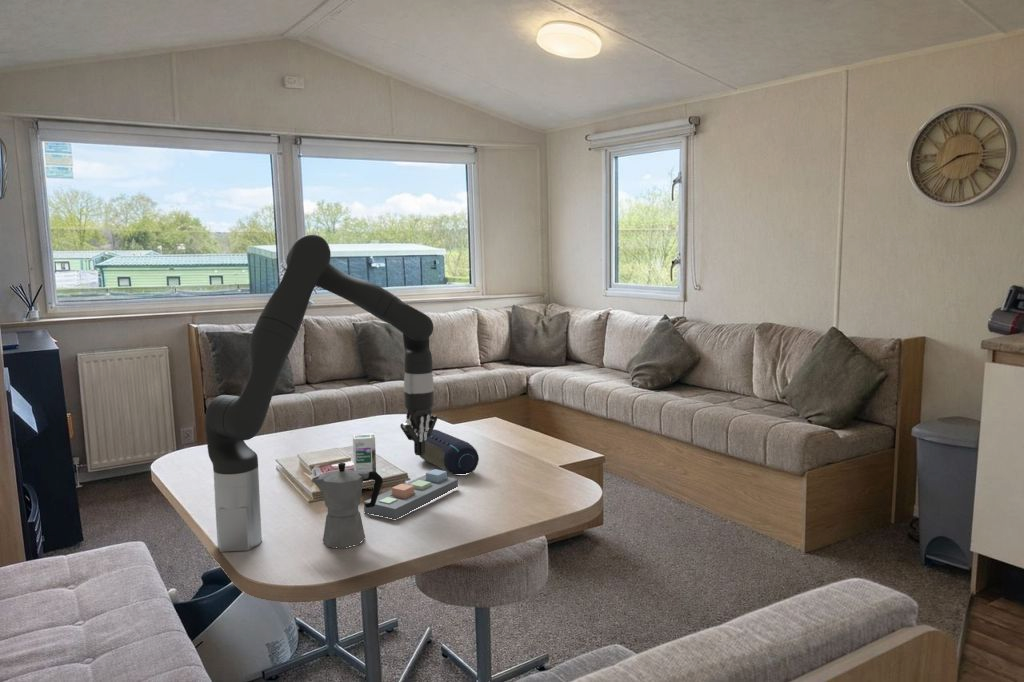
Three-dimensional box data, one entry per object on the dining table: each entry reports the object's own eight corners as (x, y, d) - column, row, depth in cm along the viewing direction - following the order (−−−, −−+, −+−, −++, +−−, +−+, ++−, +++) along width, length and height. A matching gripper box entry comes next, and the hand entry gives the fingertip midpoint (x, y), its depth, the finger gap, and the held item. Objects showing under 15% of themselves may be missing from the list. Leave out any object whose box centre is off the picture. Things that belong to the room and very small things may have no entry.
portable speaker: (411, 460, 222) (411, 429, 221) (439, 455, 228) (439, 424, 226) (452, 481, 202) (452, 447, 200) (482, 475, 207) (482, 441, 206)
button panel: (395, 520, 172) (395, 507, 172) (364, 513, 177) (363, 500, 177) (458, 490, 194) (457, 478, 194) (428, 484, 199) (428, 472, 199)
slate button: (438, 488, 191) (437, 475, 191) (426, 485, 194) (425, 473, 193) (446, 483, 195) (446, 471, 194) (435, 481, 197) (434, 469, 196)
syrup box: (355, 491, 194) (353, 438, 192) (354, 484, 199) (352, 433, 198) (376, 489, 195) (375, 437, 193) (375, 482, 201) (373, 432, 199)
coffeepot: (312, 551, 155) (309, 471, 152) (315, 535, 164) (312, 458, 162) (384, 546, 158) (382, 466, 155) (383, 529, 167) (381, 454, 165)
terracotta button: (404, 503, 180) (403, 490, 179) (391, 501, 182) (391, 487, 181) (414, 499, 183) (414, 485, 183) (402, 496, 185) (401, 483, 185)
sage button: (421, 499, 186) (421, 486, 185) (409, 496, 188) (409, 483, 187) (431, 495, 189) (430, 482, 189) (419, 492, 191) (419, 479, 191)
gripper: (423, 384, 192) (424, 447, 194) (390, 392, 181) (392, 458, 183) (445, 386, 188) (446, 450, 190) (413, 395, 177) (415, 463, 179)
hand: (419, 454), depth 187 cm, fingers closed
